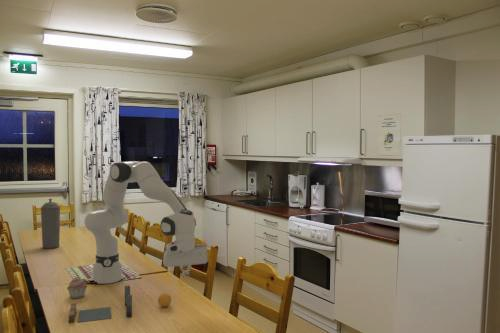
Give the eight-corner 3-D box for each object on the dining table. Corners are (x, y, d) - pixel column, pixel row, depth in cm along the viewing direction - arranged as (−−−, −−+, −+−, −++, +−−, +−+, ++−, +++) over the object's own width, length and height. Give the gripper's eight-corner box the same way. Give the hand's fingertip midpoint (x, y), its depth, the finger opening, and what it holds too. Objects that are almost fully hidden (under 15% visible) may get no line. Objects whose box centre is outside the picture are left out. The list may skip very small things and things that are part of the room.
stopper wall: (71, 310, 187) (71, 303, 187) (76, 309, 188) (76, 303, 187) (68, 323, 174) (68, 315, 174) (74, 322, 174) (73, 315, 174)
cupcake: (91, 296, 205) (91, 276, 204) (72, 301, 198) (72, 280, 197) (82, 291, 211) (81, 272, 210) (63, 296, 204) (63, 276, 203)
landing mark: (79, 310, 187) (79, 310, 187) (110, 307, 191) (110, 306, 191) (77, 322, 174) (77, 321, 174) (110, 318, 179) (110, 318, 179)
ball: (157, 304, 194) (157, 292, 194) (170, 303, 196) (170, 290, 196) (158, 309, 189) (158, 296, 188) (172, 308, 191) (172, 295, 190)
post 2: (126, 315, 182) (125, 295, 181) (131, 314, 183) (131, 294, 182) (126, 317, 180) (126, 297, 179) (132, 316, 180) (132, 296, 180)
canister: (57, 244, 311) (57, 197, 309) (62, 247, 301) (62, 199, 300) (39, 246, 303) (38, 198, 301) (43, 250, 293) (42, 200, 292)
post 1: (124, 304, 194) (124, 285, 194) (130, 304, 195) (130, 285, 194) (124, 306, 192) (124, 287, 191) (130, 306, 193) (130, 286, 192)
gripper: (205, 241, 201) (205, 270, 201) (162, 245, 194) (162, 274, 194) (208, 244, 195) (209, 274, 195) (164, 248, 188) (164, 278, 188)
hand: (185, 274), depth 195 cm, fingers closed
